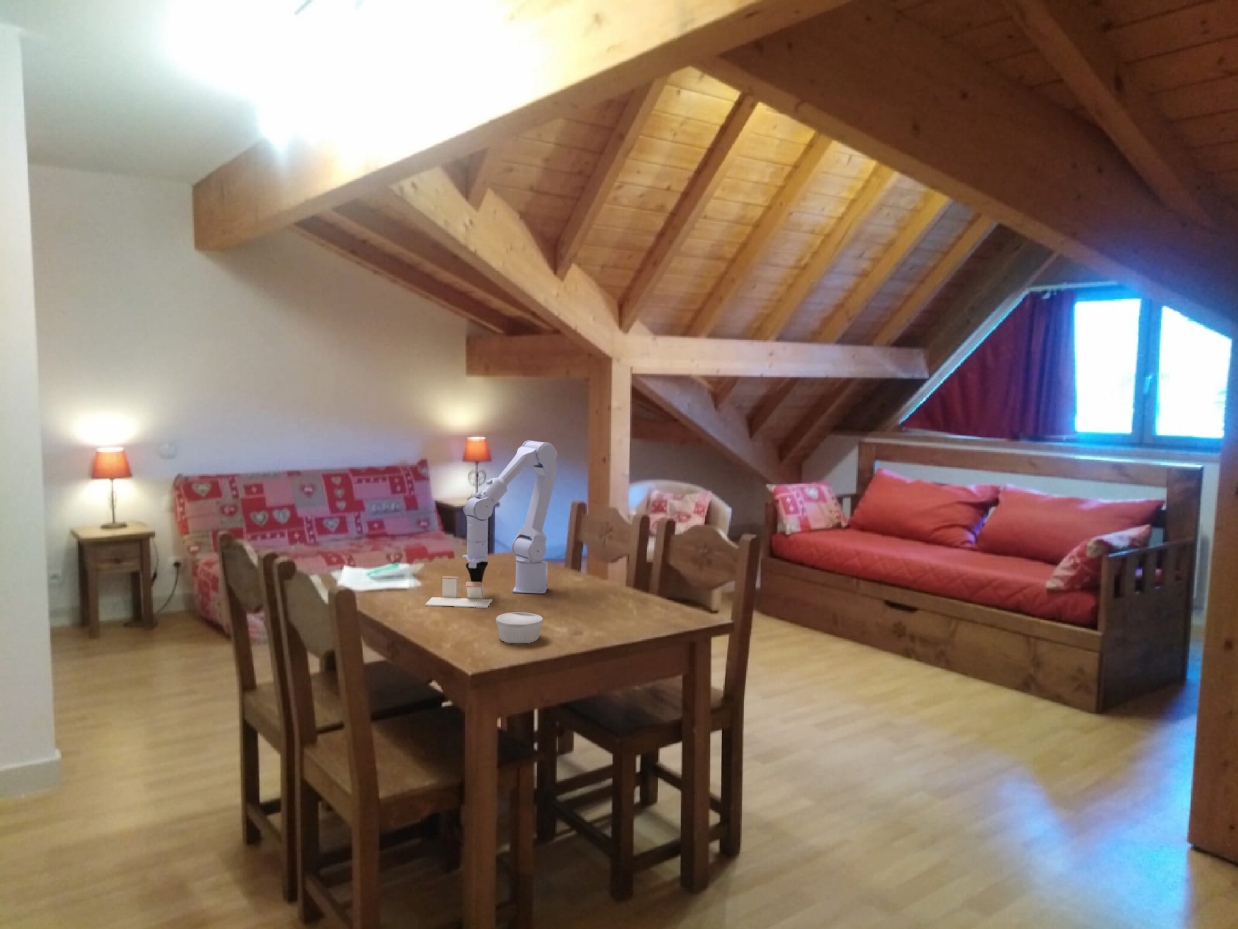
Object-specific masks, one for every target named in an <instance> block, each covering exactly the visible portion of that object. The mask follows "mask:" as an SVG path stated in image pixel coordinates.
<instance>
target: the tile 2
mask: <svg viewBox="0 0 1238 929" xmlns="http://www.w3.org/2000/svg"><path fill="white" fill-rule="evenodd" d="M465 591H466V596H467V598H469V599H485V596H486V595H485V589H484V582H483V581H482V582H471V581H466V582H465Z"/></svg>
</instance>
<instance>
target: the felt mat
mask: <svg viewBox="0 0 1238 929" xmlns="http://www.w3.org/2000/svg"><path fill="white" fill-rule="evenodd" d="M492 602H493V599H492V598H491V599H490V598H489V599H488V598H484V599H469V598H468V597H467V598H466V597H465V598H464V597H458V598H442V597H441V596H438V597H436V596H431V598H429V600H427V601H426V603H424V604H425V605H424V606H426V607H442V606H454V607H453V608H469V607H474V608H473V609H488V608H489V607H488V606H490V605H491V604H492ZM490 603H491V604H490ZM475 607H476V608H475Z"/></svg>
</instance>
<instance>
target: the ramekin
mask: <svg viewBox="0 0 1238 929" xmlns="http://www.w3.org/2000/svg"><path fill="white" fill-rule="evenodd" d="M495 622H496V626H497V632H498V633H497V635H498V638H499V640H501V641H502V642H503V641H504V642H503V643H507V644H510V643H528V644H532V643H535V642H537V641H538V639H539V638H540V633H541V630H542V624H543V622H544V618H543V617H542V616H541V615H538V614H537V613H536V614H535V613H530V612H521V611H518V612H517V611H515V612H505V613H502V614H500V615H497V616H496V619H495ZM534 641H535V642H534ZM531 642H532V643H531Z"/></svg>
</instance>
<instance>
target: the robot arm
mask: <svg viewBox="0 0 1238 929" xmlns="http://www.w3.org/2000/svg"><path fill="white" fill-rule="evenodd" d="M558 454H559V453H558V451H557V450H556V448H555V446H554V445H553V444H552V443H550V442H547V441H545V442H542V441H536V440H532V439H531V440H530V439H529V440H528V439H527V440H525V441H524V442H523V443H522V445H521V446H519V447H518V448H517V451H516V454H515V455H514V457H513V458H512V459H511V460H510V462H509V463H508V464H507V466H506V467H505V468H504V469H503V471H502V472H501V473H500V474H499V475H498V477H492V478H490V479H487V480H486V481H485V482H486V483H485V485H484V486H483V487H482V488H481V489H480V491H477V492H476V494H475V497H474V496H472V497H470V498H468V499H467V500H466V502H465V505H464V507H463V508H462V510H463V514H464V515H465V516H466V524H467V526H466V527H467V528H466V531H467V532H466V534H467V535H466V554H463V555H462V559H464V560H465V559H466V560H467V562H466V563H465V568H466V570H467V572H468V574H469V578H470V582H483V580H484V579H483V578H484V574H485V571H486V569H487V567H488V565H489V562H488V561H487V560H488V559H489V555H488V547H489V546H488V543H489V541H488V538H489V534H488V532H489V517H491V516H492V514H493V512H494V507H495V505H497V503H498V502H499V501H500V500H502V498H503V496H504V495H505V494H506V493H507V492H508V485H509V484H510V483H511V482H512V481H513V480H514V479H515V478H516V477H517V476H518V475H520V473H521V472H522V471H523V470H525V468H527V467H532V468H533V470H534V472H535V473H536V477H535V482H534V486H533V490H532V494H531V498H530V502H529V505H528V509H527V513H526V517H525V521H524V524H523V526H522V527H521V528H519V530H518V531H517V534H516V536H515V538H514V539H513V541H512V543H511V552H512V554H513V555H514V556H515V557H514V560H515V585H514V587H513V589H512V593H519V594H522V593H524V594H546V592H547V590H548V586H549V580H548V579H549V578H548V576H549V575H548V574H549V573H548V572H549V566H548V565H549V563H548V561H546V560H543V559H544V557H545V556H546V553H547V546H546V544H547V542H546V541H547V537H546V535H545V533H544V531H543V529H544V524H545V521H546V516H547V513H548V509H549V506H550V502H551V497H552V493H553V489H554V485H555V480H556V478H557V474H558V472H557V471H558V469H557V458H558Z"/></svg>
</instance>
